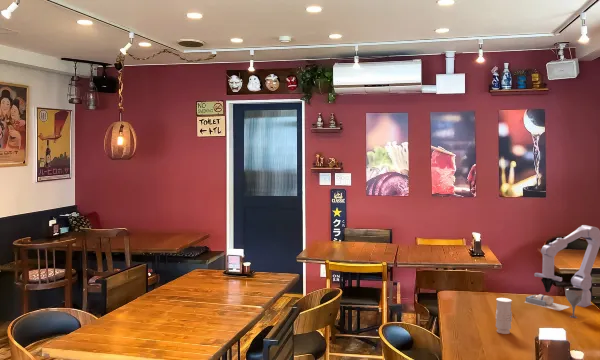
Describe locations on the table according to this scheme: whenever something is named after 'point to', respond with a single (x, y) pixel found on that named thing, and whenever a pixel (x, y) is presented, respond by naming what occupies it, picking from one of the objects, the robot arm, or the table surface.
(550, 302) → the bottle
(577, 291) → the wine glass
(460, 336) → the table surface
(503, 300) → the candle
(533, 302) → the cradle
